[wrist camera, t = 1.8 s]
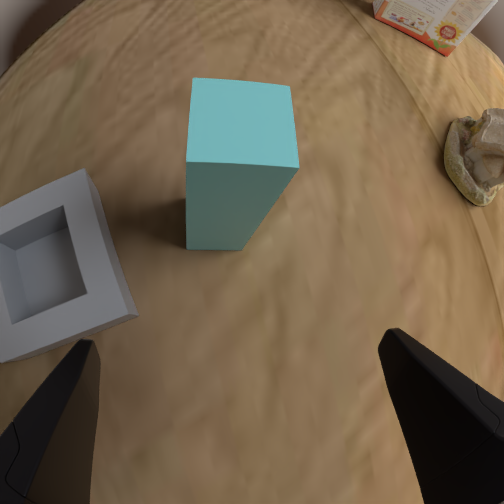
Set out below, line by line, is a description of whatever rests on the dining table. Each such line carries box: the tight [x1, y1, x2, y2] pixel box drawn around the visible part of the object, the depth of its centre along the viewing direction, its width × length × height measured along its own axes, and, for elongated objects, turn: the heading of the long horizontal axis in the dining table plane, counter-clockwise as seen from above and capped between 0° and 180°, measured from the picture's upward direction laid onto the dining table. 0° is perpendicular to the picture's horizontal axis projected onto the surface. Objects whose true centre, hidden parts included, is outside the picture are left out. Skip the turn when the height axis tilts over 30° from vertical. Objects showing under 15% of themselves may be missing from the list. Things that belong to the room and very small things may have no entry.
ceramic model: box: [444, 108, 504, 206], centre depth 27 cm, size 14×11×10 cm
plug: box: [186, 78, 299, 250], centre depth 18 cm, size 4×4×13 cm
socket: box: [0, 168, 139, 363], centre depth 19 cm, size 10×10×4 cm
